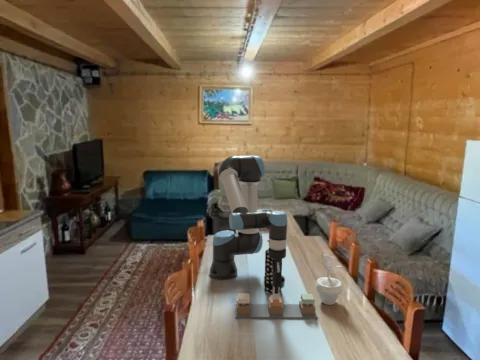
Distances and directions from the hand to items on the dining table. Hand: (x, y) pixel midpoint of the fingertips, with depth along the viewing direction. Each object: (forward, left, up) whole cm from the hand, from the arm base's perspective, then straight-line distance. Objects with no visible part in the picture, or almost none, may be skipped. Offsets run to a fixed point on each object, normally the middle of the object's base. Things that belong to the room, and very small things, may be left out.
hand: (275, 299), depth 161 cm
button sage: (0, +14, -4) cm, 15 cm away
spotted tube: (-21, +1, -6) cm, 22 cm away
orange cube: (0, 0, -5) cm, 5 cm away
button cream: (0, -14, -4) cm, 15 cm away
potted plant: (-9, +26, -6) cm, 28 cm away
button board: (0, 0, -6) cm, 6 cm away
